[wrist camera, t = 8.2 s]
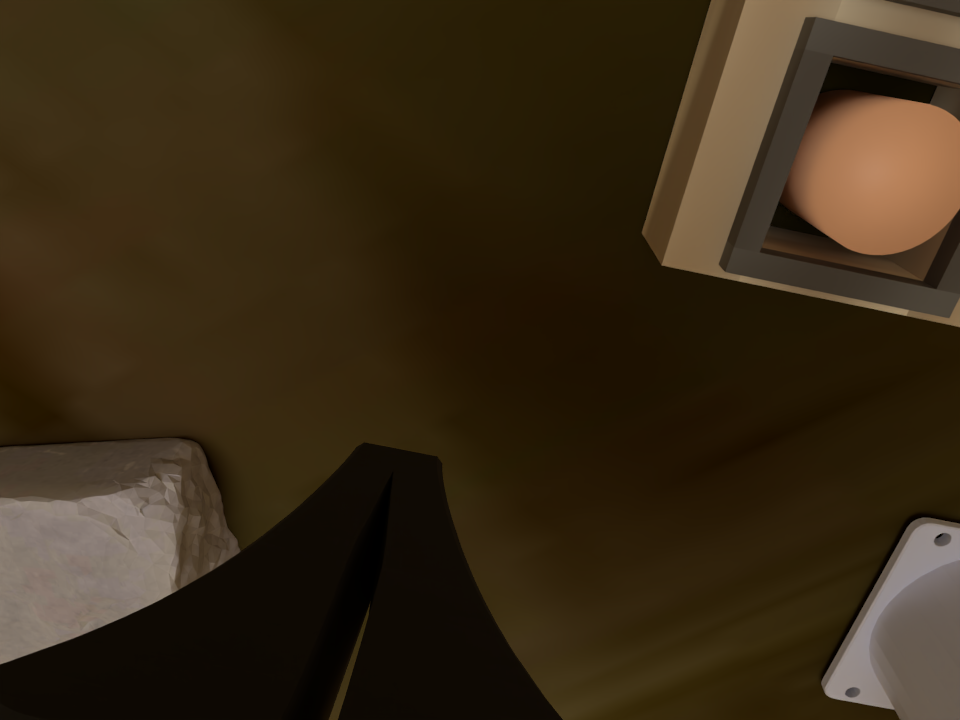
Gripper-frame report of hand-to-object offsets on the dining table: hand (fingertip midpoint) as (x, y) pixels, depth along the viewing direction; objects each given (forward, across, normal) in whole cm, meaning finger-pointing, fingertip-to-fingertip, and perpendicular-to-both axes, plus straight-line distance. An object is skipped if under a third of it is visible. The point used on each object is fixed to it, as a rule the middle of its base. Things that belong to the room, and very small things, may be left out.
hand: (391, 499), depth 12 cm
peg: (+9, -9, -6) cm, 14 cm away
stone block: (+10, +11, +12) cm, 20 cm away
